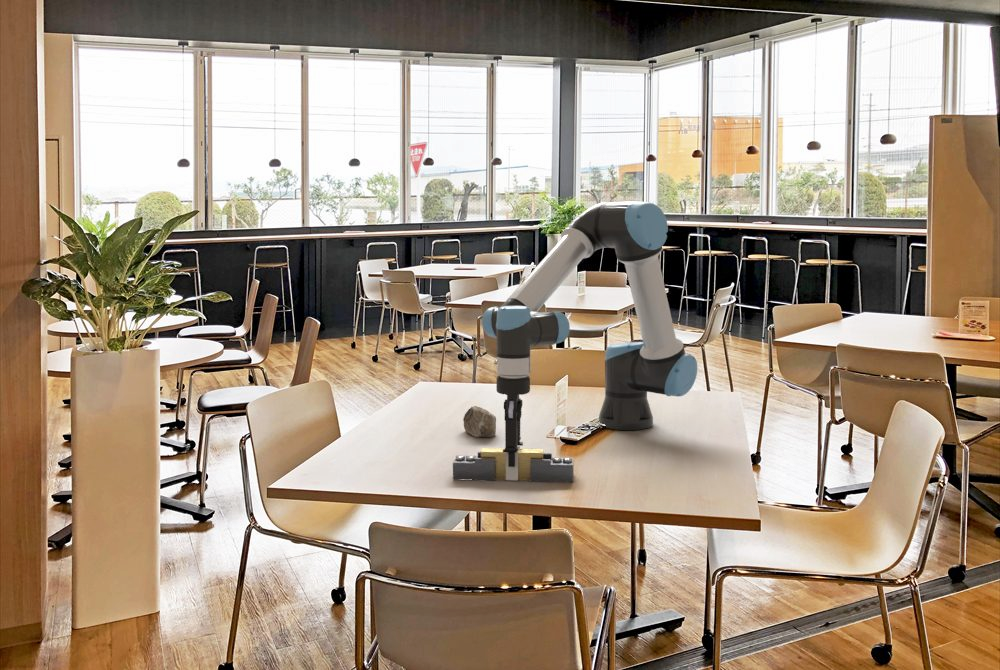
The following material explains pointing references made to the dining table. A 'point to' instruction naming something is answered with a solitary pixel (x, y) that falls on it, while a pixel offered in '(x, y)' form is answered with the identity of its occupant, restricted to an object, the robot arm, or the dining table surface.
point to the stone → (480, 422)
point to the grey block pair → (539, 468)
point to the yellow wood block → (523, 461)
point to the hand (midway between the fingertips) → (512, 476)
